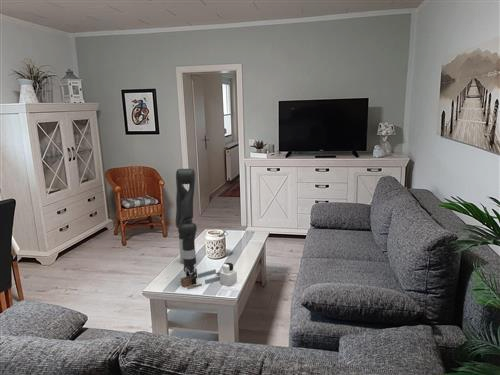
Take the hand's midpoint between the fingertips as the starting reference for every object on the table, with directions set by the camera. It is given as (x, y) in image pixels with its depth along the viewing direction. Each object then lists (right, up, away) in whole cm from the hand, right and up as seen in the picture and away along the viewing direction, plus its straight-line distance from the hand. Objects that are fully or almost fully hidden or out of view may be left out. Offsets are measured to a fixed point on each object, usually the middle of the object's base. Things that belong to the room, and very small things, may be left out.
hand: (191, 281), depth 226 cm
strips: (0, -1, 0) cm, 1 cm away
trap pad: (+18, +2, +11) cm, 21 cm away
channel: (+11, 0, +7) cm, 13 cm away
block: (-1, -2, 0) cm, 2 cm away
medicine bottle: (+22, -1, 0) cm, 22 cm away
